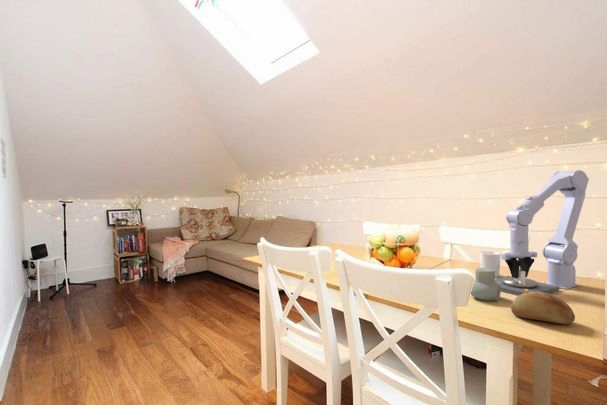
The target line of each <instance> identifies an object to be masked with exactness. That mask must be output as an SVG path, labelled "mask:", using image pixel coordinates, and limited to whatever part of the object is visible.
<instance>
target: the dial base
mask: <svg viewBox="0 0 607 405" xmlns="http://www.w3.org/2000/svg"><path fill="white" fill-rule="evenodd" d="M506 277H512V275H511V276H509V275H507V276H504V277H498V278H495V282H496V283H498V284H499V285H500V286H501V292H502V293H507V294H511V295H514V296H519V295H521V294H523V293H527V292H543V293H548V294H552V293H555V292H559V291H560V288H559V286H555V285H550V284H545V282H541V281H536V282H537V287H535V288H518V287H512V286H508V285H505V284H503V282H502V279H503V278H506Z"/></svg>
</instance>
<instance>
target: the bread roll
mask: <svg viewBox="0 0 607 405" xmlns="http://www.w3.org/2000/svg"><path fill="white" fill-rule="evenodd" d="M510 310H511V313H512V314H513V315H514V316H516V317H519V318H522V319H528V320H536V321H543V322H548V323H555V324H559V325H560V324H562V325H569V324H572V323H574V321H575V319H576V317H575V316H576V315H575V313H574V311H573V309H572V307H570V305H569V304H568V303H566V302H565V301H564V300H563V299H561V298H560V297H559V296H557V295H554V294H552V293H550V294H548V293H543V292H527V293H523V294H521V295H519V296H518V295H516V297H515V298H514V300H513V302H512V303H511V305H510Z"/></svg>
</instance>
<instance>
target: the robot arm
mask: <svg viewBox="0 0 607 405" xmlns="http://www.w3.org/2000/svg"><path fill="white" fill-rule="evenodd" d="M589 181H590V180H589V177H588V175H587V174H586V173H585V172H584V171H583V170H579V169H578V170H571V171H568V170H567V171H556V172H554V173H553V174H552V175H551V176H549V178H548V181H547V182H546V184H545V185H544V186H543V187H542V188H541V189H540V190H539V191H538V192H537V193H536V194H535V195H530V196H527V197H526V198H525V200H524V201H523V202H522V203H521V204H519V205H517V207H516V208H515V209H512V210H510V211H508V213H507V216H506V217H505V218H506V221H507V223H508V228H509V237H510V239H509V242H510V244H509V247H510V251H508V252H506V253H505V252H504V253H501V257H500V260H504V262H505V263H506V264H507V267H508V268H509V271H510V274H511V277H513V278H518V276H519V268H521V269H522V270H524V271H525V278H528V275H529V272H530V269H531V268H532V266H533V264H534V262H535V258H538V251H529V225H530V224H532V222H533V219H534V217H535V215H536V214H537V213H538V212H539V211H540V210H542V208H543V207H544V206H545V201H546V200H548V199H549V198H550V197H551V196H552V195H554V194H555V193H557V191H559V192H560V193H561V194H562V195H564V197H565V200H564V202H563V207H562V209H561V213H560V217H559V219H558V220H559V221H558V223H557V227H556V230H555V234H554V236H552V237H549V238H548V239H547V242H546V244H545V245H544V246H543V248H542V255H543V257H544V258H545V260H546V262H547V281H546V282H544V283H545V284H550V285H555V286H559V289H565V290H568V289H569V290H570V289H571V288H574V287H577V286H579V284H578V283H576V278H577V277H576V267H575V265H574V263H575V262H576V261H577V259H578V248H579V247H578V246H579V245H578V244H577V243H576V242H575V241H574V240H573V238H574V235H575V232H576V229H577V225H578V222H579V218H580V214H581V212H582V208H583V205H584V202H585V198H586V191H587V187H588V185H589V184H588V183H589Z"/></svg>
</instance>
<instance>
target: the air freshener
mask: <svg viewBox="0 0 607 405" xmlns="http://www.w3.org/2000/svg"><path fill="white" fill-rule="evenodd" d="M474 274H475V275H474V276H475V279H474V280H473V281H474V284H473V287H472V291H471V294H470V295H471V296H472V297H473V298H475V299H476V300H477V299H478V300H481V301H487V302H488V301H489V302H491V301H492V302H493V301H497V300H499V299H500V296H501V292H502V291H501V286H500V285H499V284H498V283H496V282H495V279H496V277H495V271H494V270H492V269H488V268H481V267H478V268H476V269H475V273H474Z"/></svg>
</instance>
